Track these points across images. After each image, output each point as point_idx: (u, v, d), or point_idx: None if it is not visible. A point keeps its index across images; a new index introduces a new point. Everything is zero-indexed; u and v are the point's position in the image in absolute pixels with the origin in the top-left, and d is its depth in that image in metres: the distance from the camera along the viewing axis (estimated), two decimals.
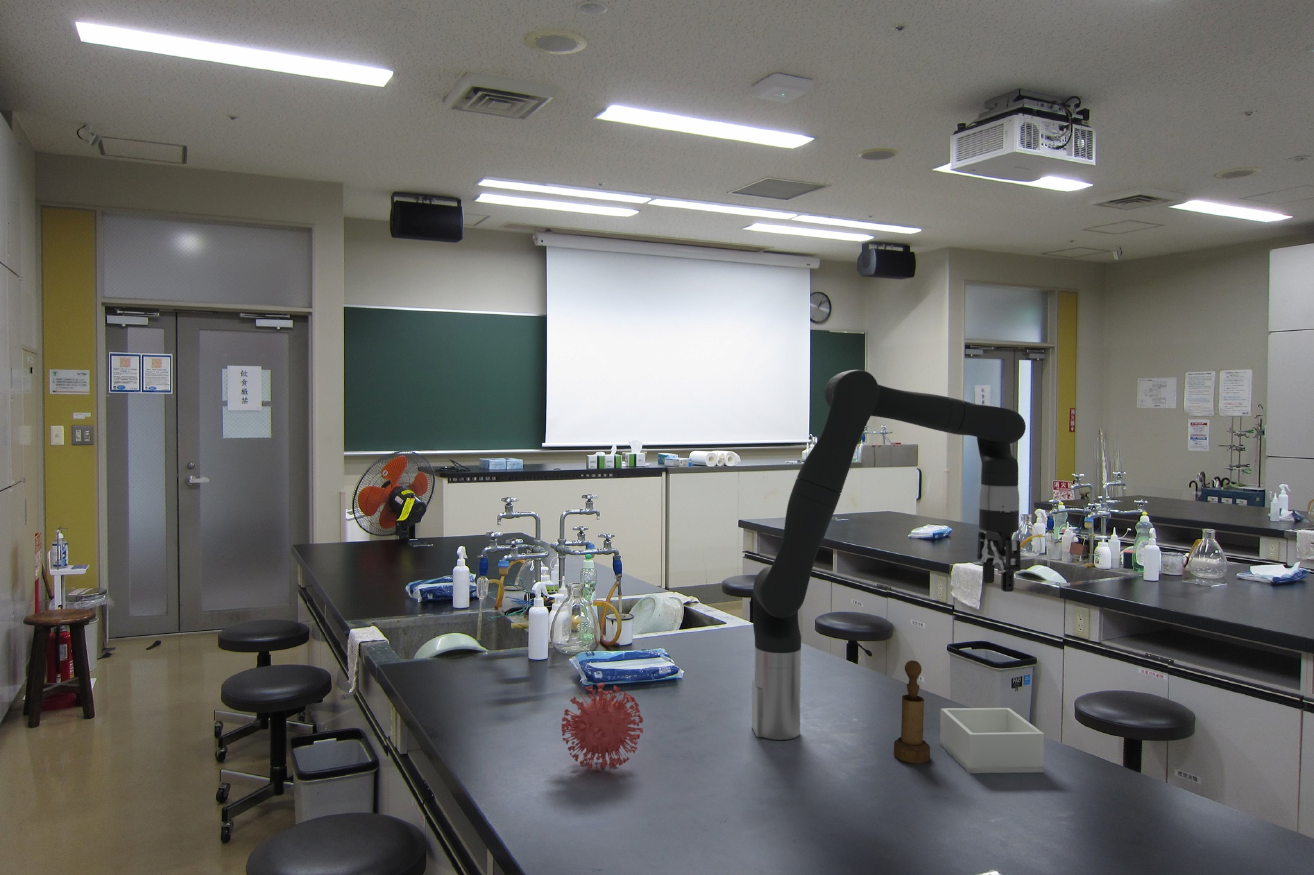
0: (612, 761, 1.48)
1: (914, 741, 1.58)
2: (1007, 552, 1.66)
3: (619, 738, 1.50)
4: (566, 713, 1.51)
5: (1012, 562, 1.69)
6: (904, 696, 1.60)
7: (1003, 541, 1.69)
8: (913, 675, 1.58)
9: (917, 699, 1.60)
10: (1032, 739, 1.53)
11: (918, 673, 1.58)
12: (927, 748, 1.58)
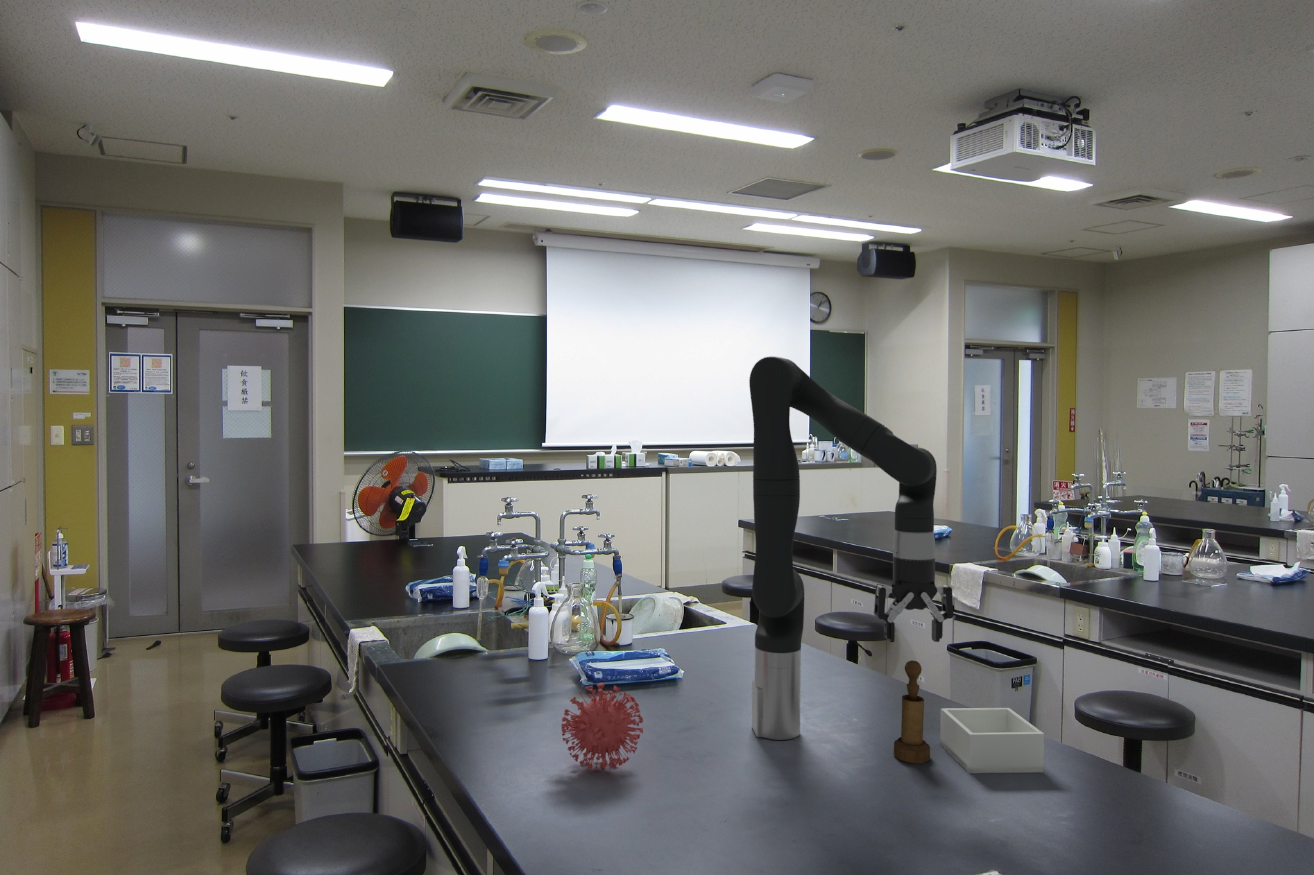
0: (612, 761, 1.48)
1: (914, 741, 1.58)
2: (950, 599, 1.58)
3: (619, 738, 1.50)
4: (566, 713, 1.51)
5: None
6: (904, 696, 1.60)
7: (936, 589, 1.58)
8: (913, 675, 1.58)
9: (917, 699, 1.60)
10: (1032, 739, 1.53)
11: (918, 673, 1.58)
12: (927, 748, 1.58)
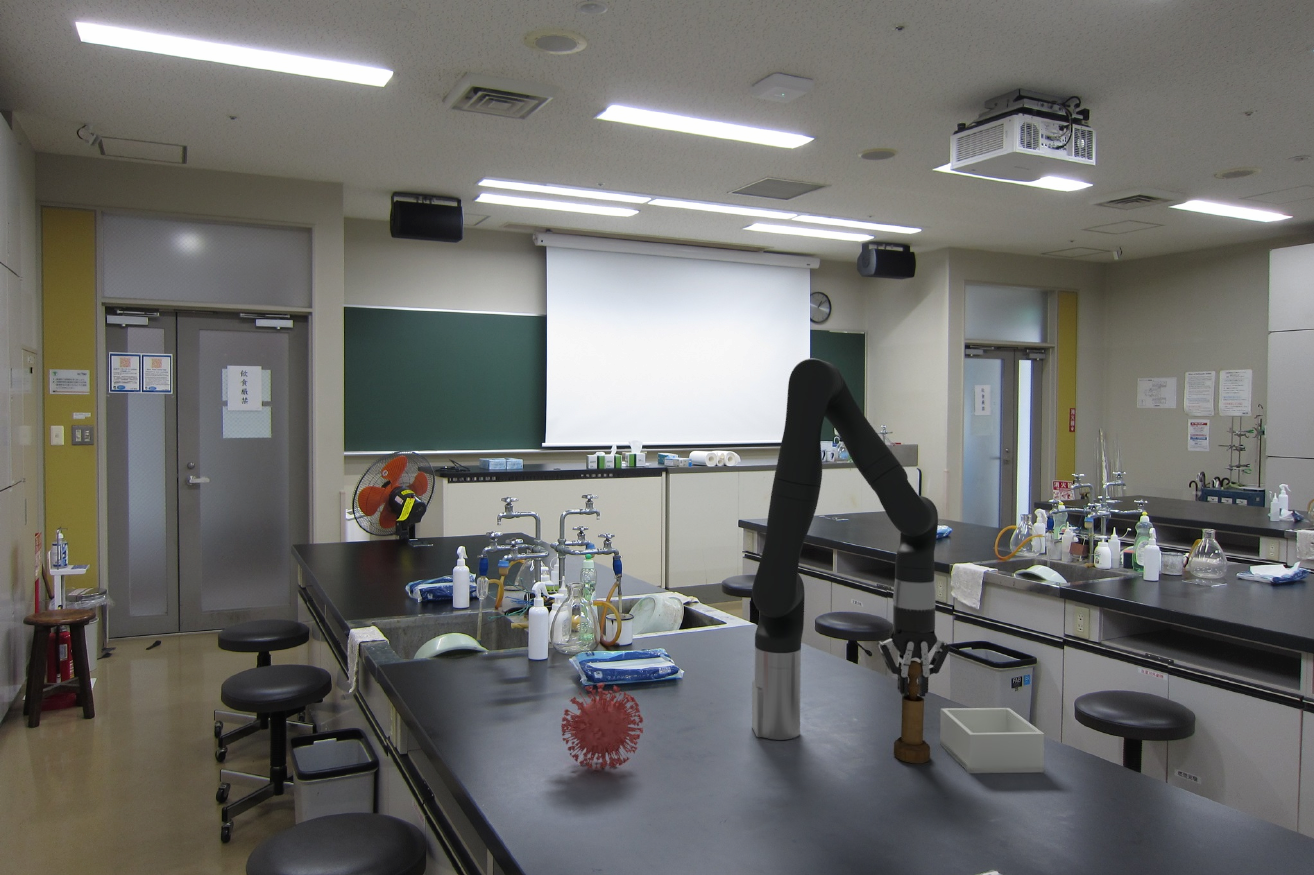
0: (612, 761, 1.48)
1: (914, 741, 1.58)
2: (943, 656, 1.58)
3: (619, 738, 1.50)
4: (566, 713, 1.51)
5: None
6: None
7: (936, 641, 1.58)
8: (913, 675, 1.58)
9: (917, 699, 1.60)
10: (1032, 739, 1.53)
11: (918, 673, 1.58)
12: (927, 748, 1.58)
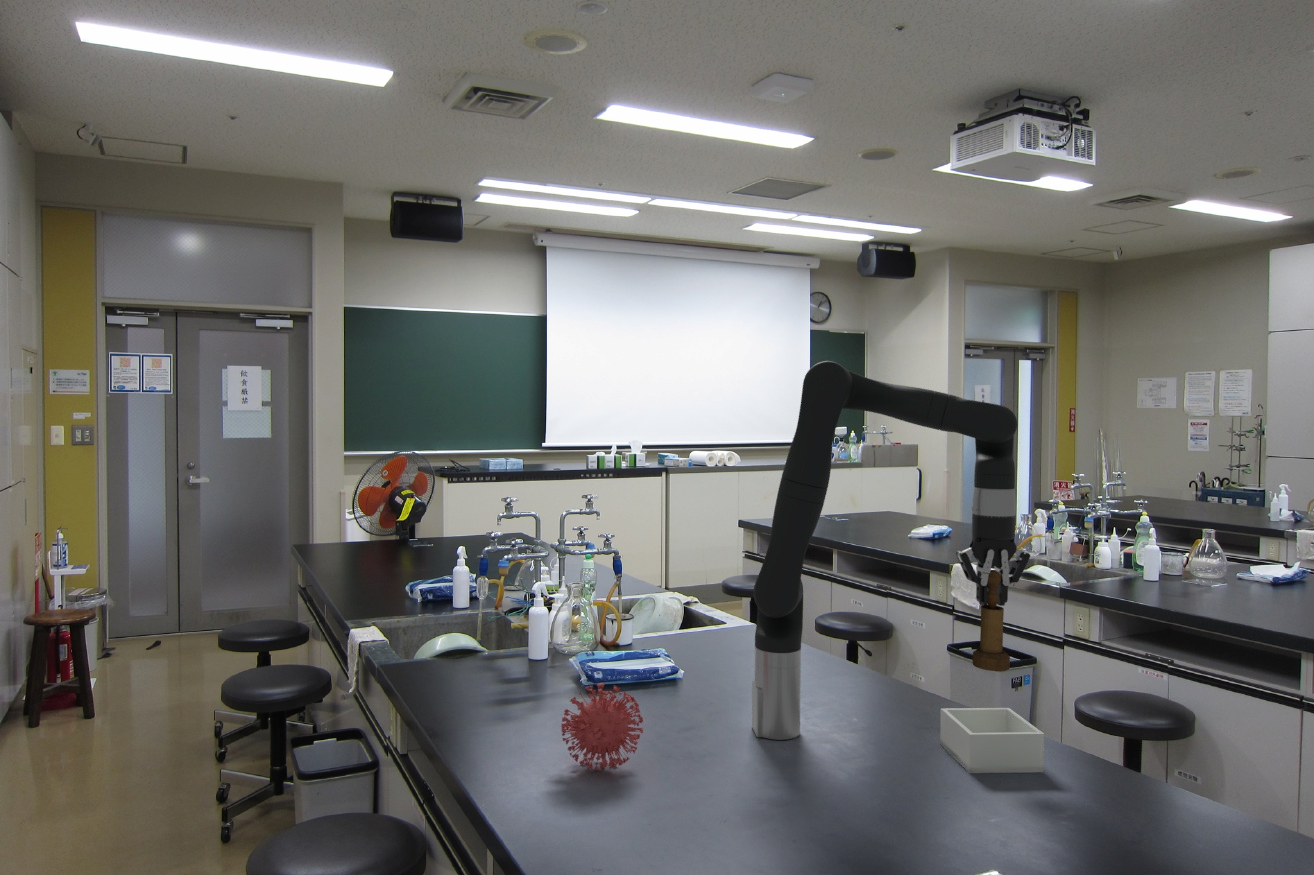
0: (612, 761, 1.48)
1: (995, 650, 1.57)
2: (1023, 564, 1.58)
3: (619, 738, 1.50)
4: (566, 713, 1.51)
5: None
6: (983, 606, 1.60)
7: (1016, 549, 1.58)
8: (993, 583, 1.57)
9: (996, 609, 1.59)
10: (1032, 739, 1.53)
11: (998, 581, 1.57)
12: (1007, 656, 1.57)
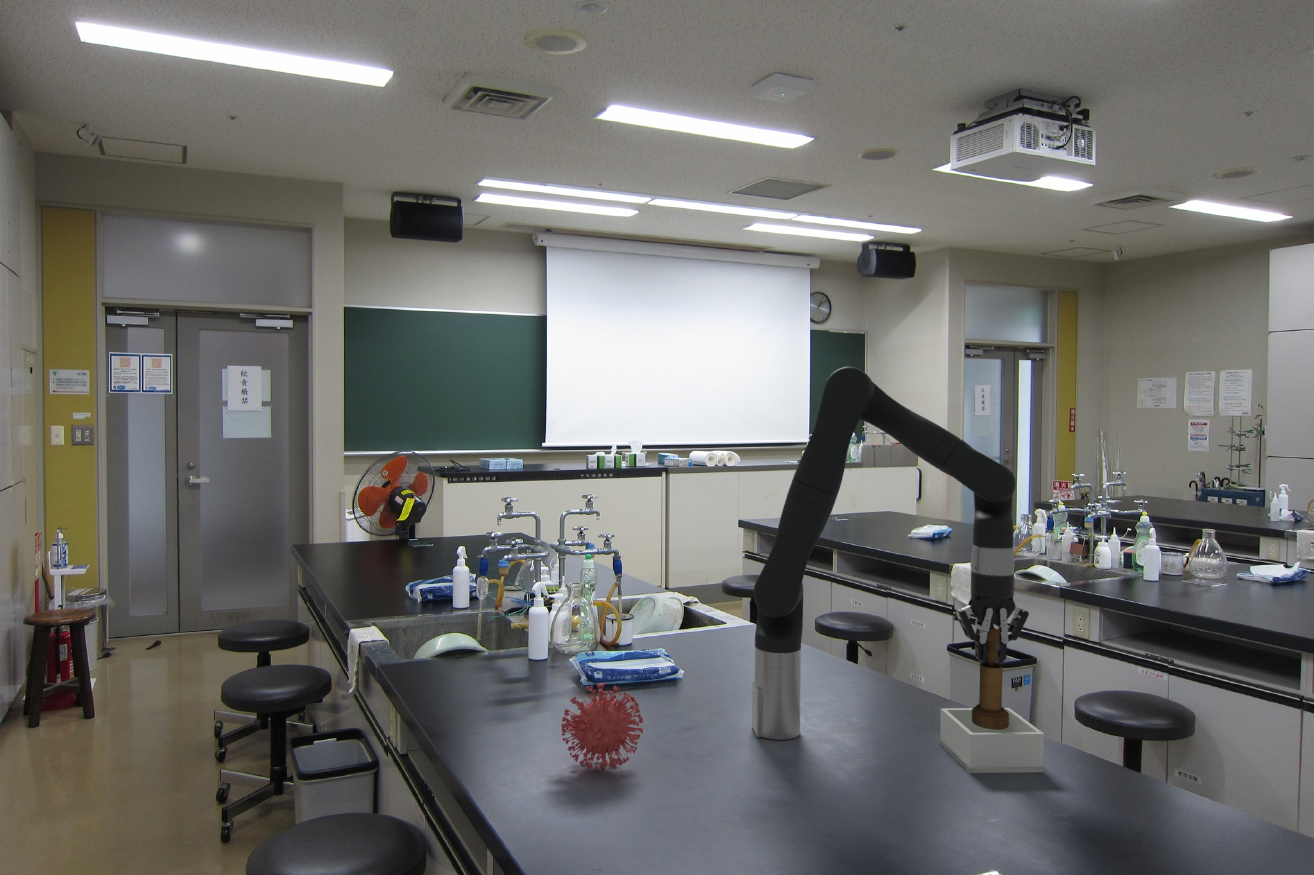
0: (612, 761, 1.48)
1: (994, 708, 1.57)
2: (1022, 622, 1.58)
3: (619, 738, 1.50)
4: (566, 713, 1.51)
5: None
6: (982, 663, 1.60)
7: (1015, 607, 1.58)
8: (992, 642, 1.58)
9: (995, 666, 1.60)
10: (1032, 739, 1.53)
11: (996, 639, 1.58)
12: (1006, 714, 1.57)
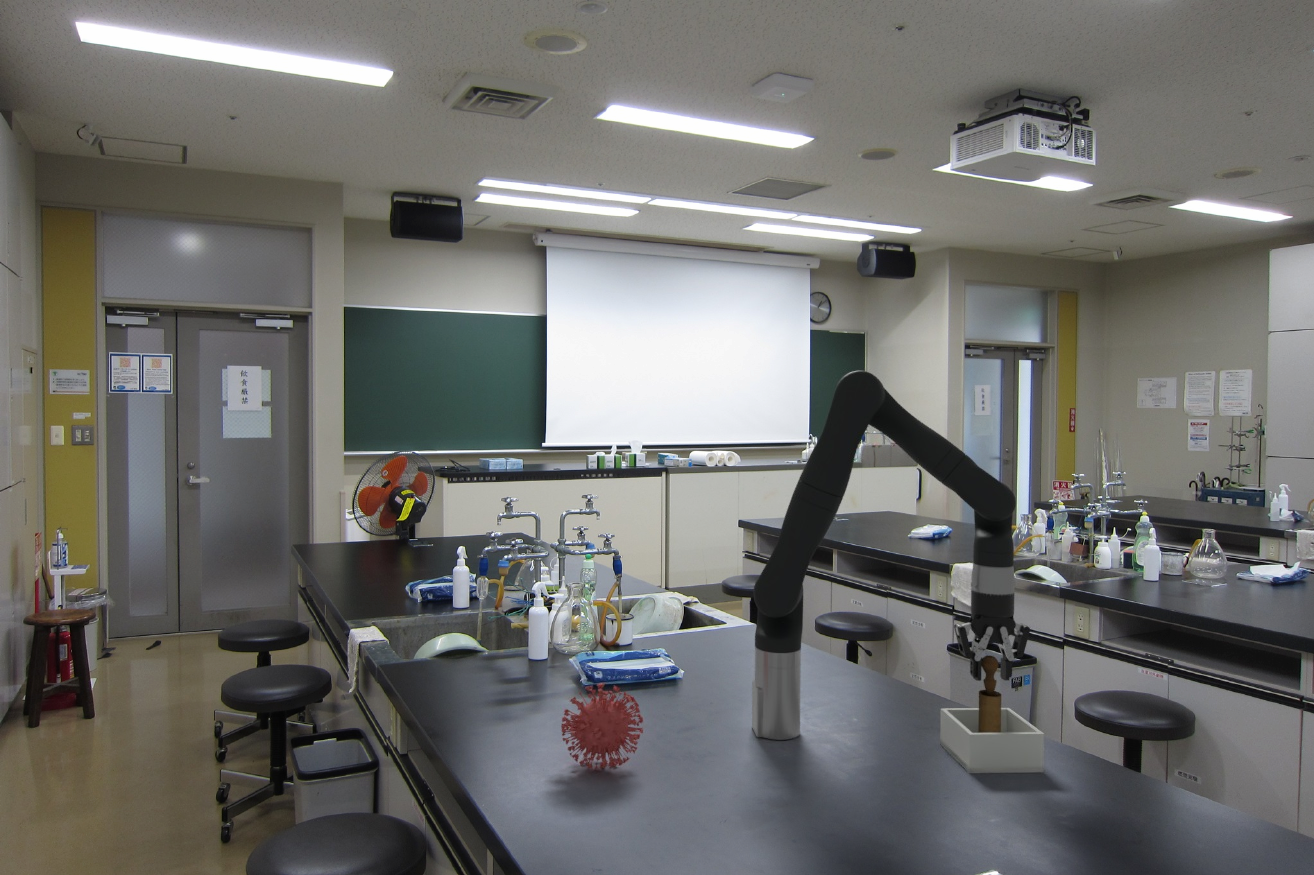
0: (612, 761, 1.48)
1: None
2: (1025, 638, 1.58)
3: (619, 738, 1.50)
4: (566, 713, 1.51)
5: None
6: (981, 691, 1.60)
7: (1015, 625, 1.58)
8: (990, 670, 1.58)
9: (994, 694, 1.60)
10: (1032, 739, 1.53)
11: (995, 668, 1.58)
12: None
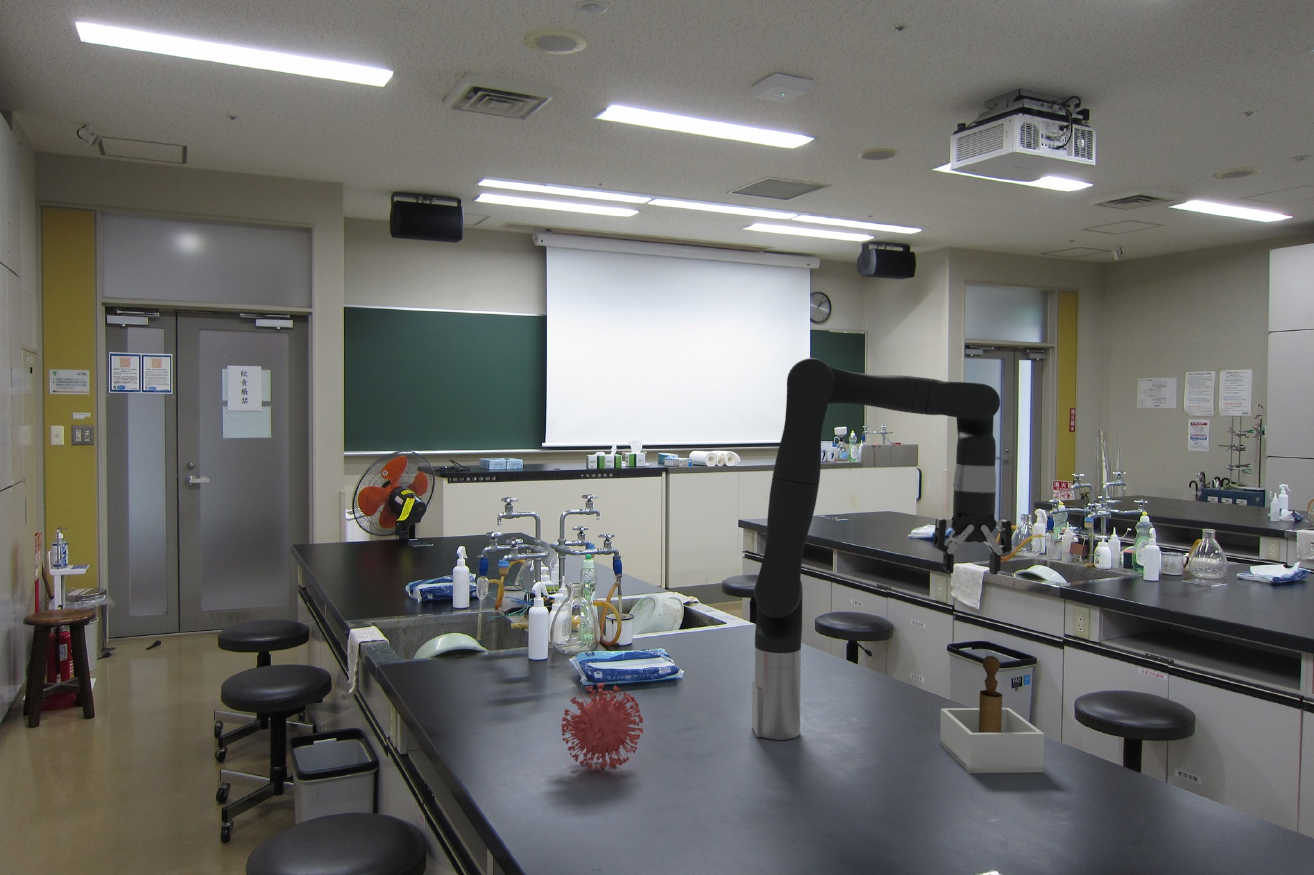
0: (612, 761, 1.48)
1: None
2: (1009, 532, 1.61)
3: (619, 738, 1.50)
4: (566, 713, 1.51)
5: None
6: (981, 691, 1.60)
7: (996, 523, 1.62)
8: (992, 670, 1.58)
9: (995, 695, 1.60)
10: (1032, 739, 1.53)
11: (996, 668, 1.58)
12: None
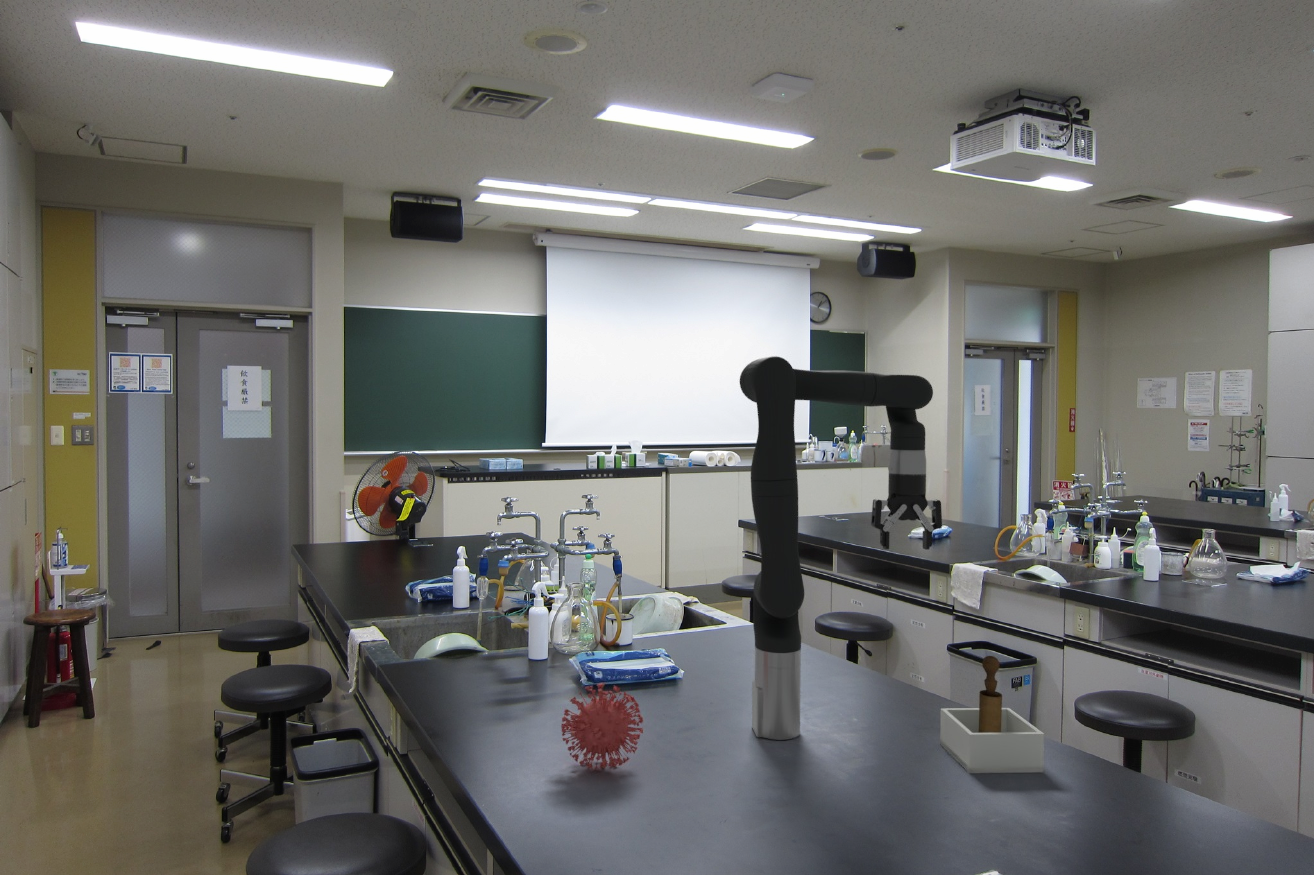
0: (612, 761, 1.48)
1: None
2: (939, 511, 1.77)
3: (619, 738, 1.50)
4: (566, 713, 1.51)
5: None
6: (981, 692, 1.60)
7: (927, 502, 1.77)
8: (991, 670, 1.58)
9: (994, 694, 1.60)
10: (1032, 739, 1.53)
11: (996, 668, 1.58)
12: None
